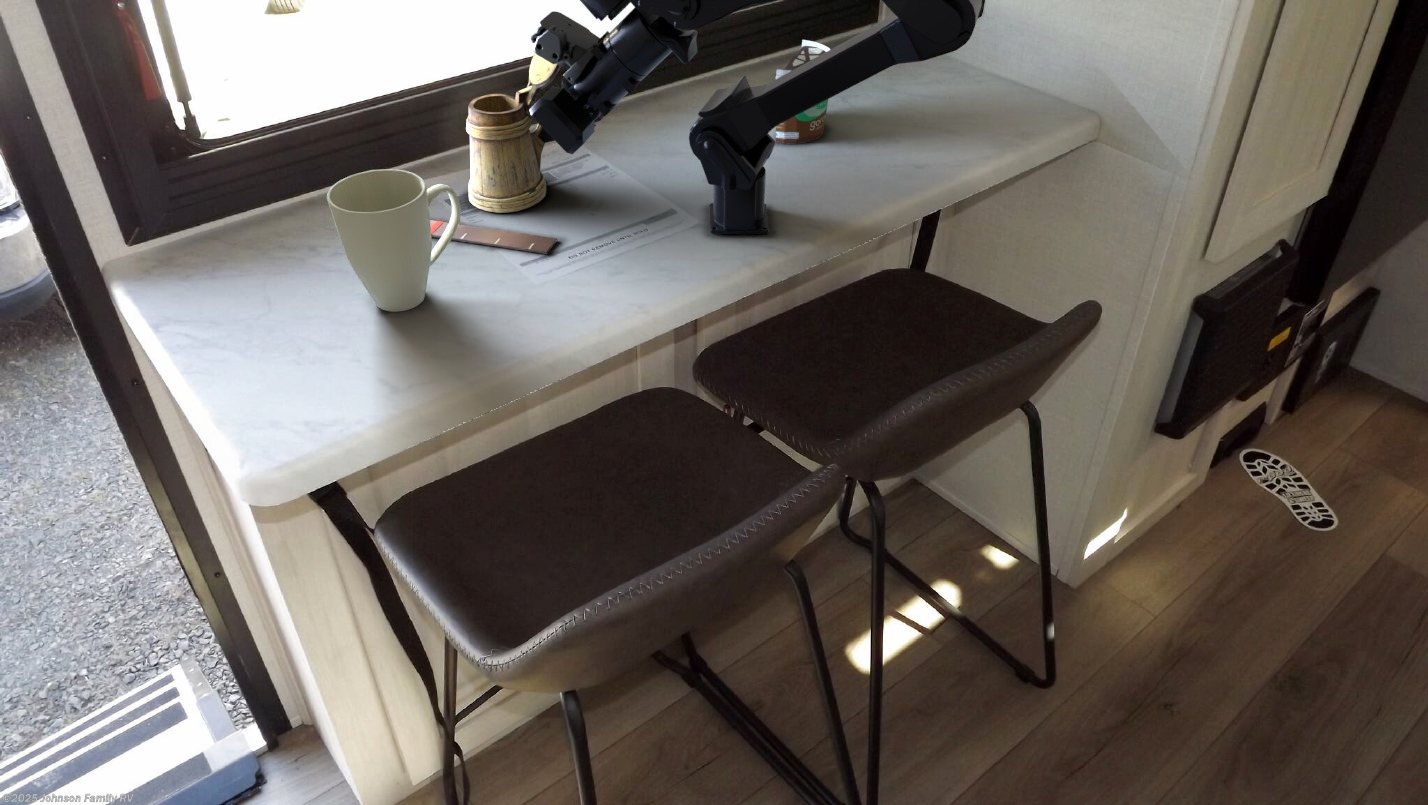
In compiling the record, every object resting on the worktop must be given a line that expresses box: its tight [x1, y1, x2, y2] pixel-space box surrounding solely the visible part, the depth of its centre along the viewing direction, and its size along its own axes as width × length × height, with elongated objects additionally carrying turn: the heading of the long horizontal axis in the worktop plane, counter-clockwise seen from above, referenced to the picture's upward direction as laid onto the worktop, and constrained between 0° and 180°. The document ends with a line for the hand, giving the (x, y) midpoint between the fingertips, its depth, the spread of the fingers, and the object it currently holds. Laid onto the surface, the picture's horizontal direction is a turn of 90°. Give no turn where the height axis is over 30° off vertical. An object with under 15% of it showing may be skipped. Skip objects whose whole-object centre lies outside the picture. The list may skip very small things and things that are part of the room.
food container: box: [774, 39, 832, 145], centre depth 133 cm, size 12×6×10 cm, turn 160°
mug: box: [326, 168, 462, 313], centre depth 101 cm, size 11×10×12 cm
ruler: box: [430, 219, 558, 255], centre depth 114 cm, size 20×3×1 cm, turn 75°
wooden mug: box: [465, 52, 562, 214], centre depth 117 cm, size 9×14×18 cm, turn 119°
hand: (541, 138), depth 117 cm, fingers closed
